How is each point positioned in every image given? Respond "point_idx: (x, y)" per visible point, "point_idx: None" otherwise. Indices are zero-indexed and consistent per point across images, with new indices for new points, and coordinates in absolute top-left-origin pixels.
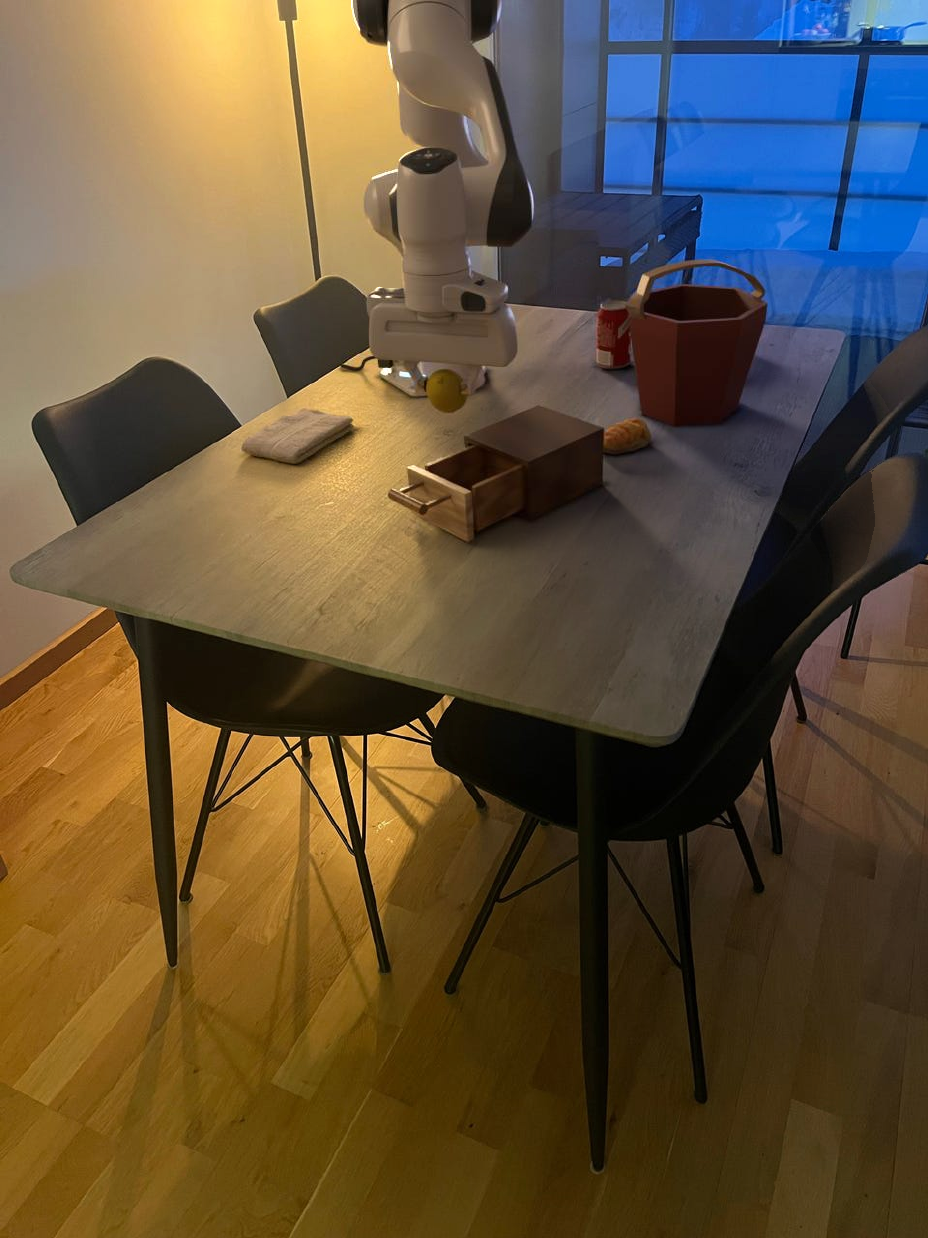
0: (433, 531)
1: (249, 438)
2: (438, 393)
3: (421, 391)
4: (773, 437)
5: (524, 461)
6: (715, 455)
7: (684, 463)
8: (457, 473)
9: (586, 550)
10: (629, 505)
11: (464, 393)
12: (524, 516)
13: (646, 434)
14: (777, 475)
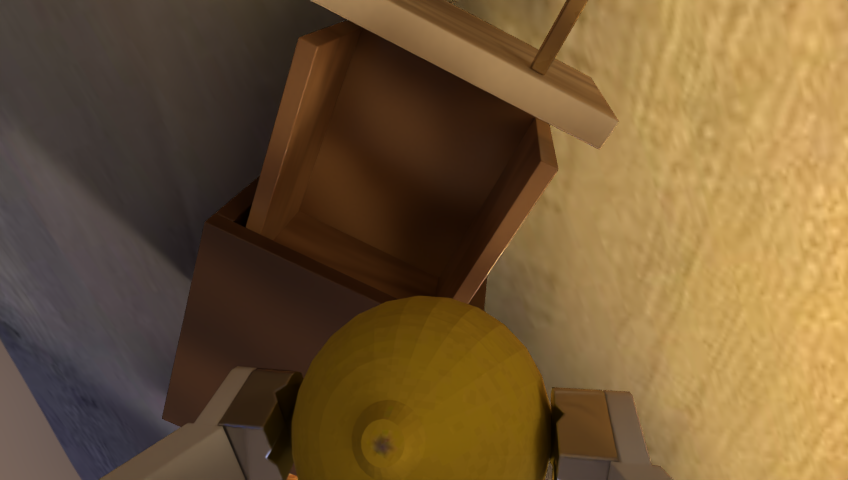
0: (499, 20)
1: None
2: (401, 333)
3: (579, 389)
4: (102, 474)
5: (224, 226)
6: (135, 426)
7: (159, 401)
8: (480, 228)
9: (106, 47)
10: (149, 255)
11: (270, 372)
12: None
13: None
14: (26, 381)
